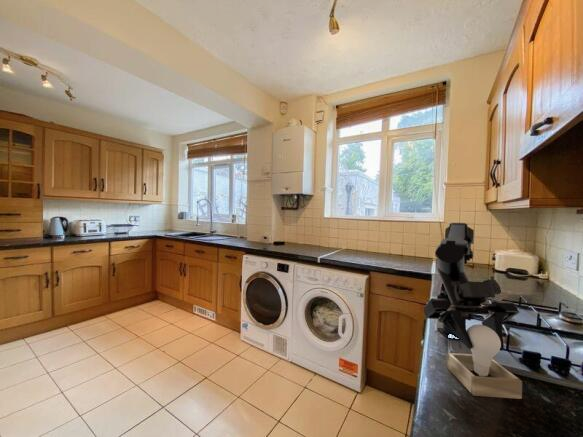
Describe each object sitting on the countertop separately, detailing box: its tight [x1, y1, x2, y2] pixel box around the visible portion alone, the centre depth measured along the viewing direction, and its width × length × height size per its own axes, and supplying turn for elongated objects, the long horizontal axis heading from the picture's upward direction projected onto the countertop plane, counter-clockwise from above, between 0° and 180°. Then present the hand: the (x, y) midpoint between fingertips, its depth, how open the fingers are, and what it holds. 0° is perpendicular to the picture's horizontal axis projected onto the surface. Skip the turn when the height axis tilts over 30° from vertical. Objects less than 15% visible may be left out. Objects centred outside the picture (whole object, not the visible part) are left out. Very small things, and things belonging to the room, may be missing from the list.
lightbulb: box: [466, 324, 501, 377], centre depth 53 cm, size 6×6×11 cm
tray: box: [446, 352, 523, 400], centre depth 53 cm, size 9×9×4 cm
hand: (486, 349), depth 52 cm, fingers closed on lightbulb, 6 cm apart
